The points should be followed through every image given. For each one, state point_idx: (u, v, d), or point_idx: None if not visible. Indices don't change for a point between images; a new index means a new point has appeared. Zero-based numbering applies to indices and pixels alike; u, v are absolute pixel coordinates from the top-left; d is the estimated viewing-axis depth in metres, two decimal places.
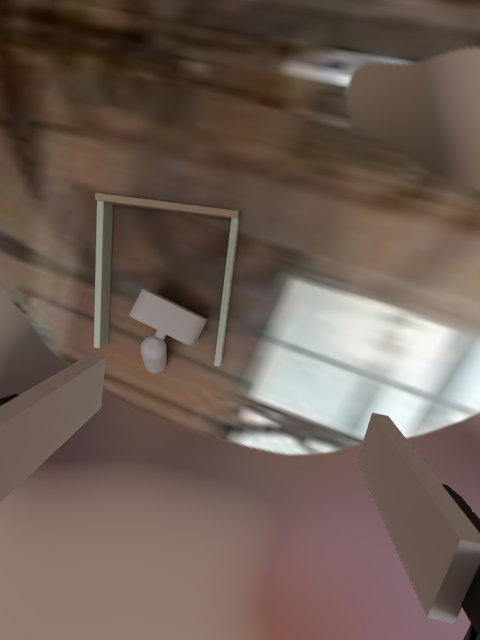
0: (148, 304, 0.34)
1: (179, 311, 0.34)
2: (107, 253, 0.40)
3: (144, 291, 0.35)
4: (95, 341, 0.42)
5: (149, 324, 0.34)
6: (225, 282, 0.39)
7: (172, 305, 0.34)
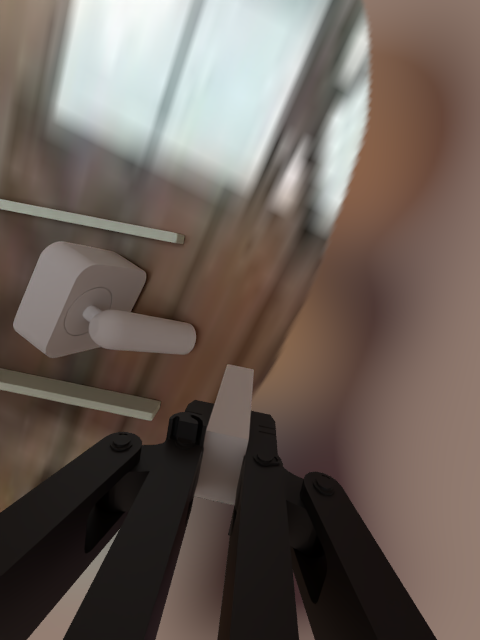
0: (27, 325, 0.22)
1: (36, 276, 0.21)
2: (32, 381, 0.31)
3: (15, 329, 0.23)
4: (142, 417, 0.29)
5: (52, 327, 0.21)
6: (45, 215, 0.26)
7: (28, 287, 0.22)
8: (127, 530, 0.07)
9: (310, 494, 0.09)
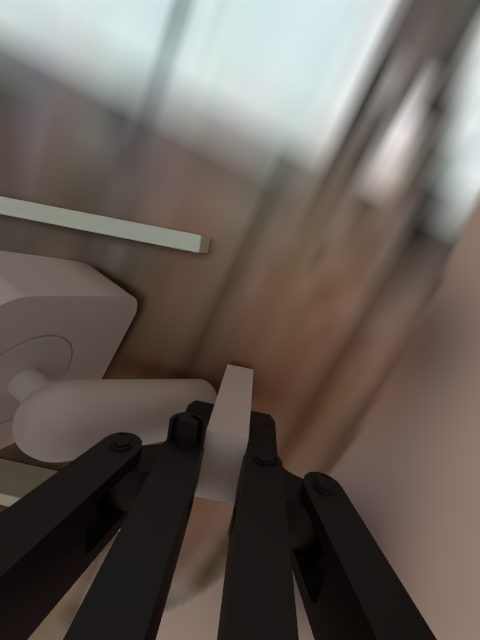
0: None
1: None
2: None
3: None
4: None
5: None
6: None
7: None
8: (127, 530, 0.07)
9: (310, 494, 0.09)
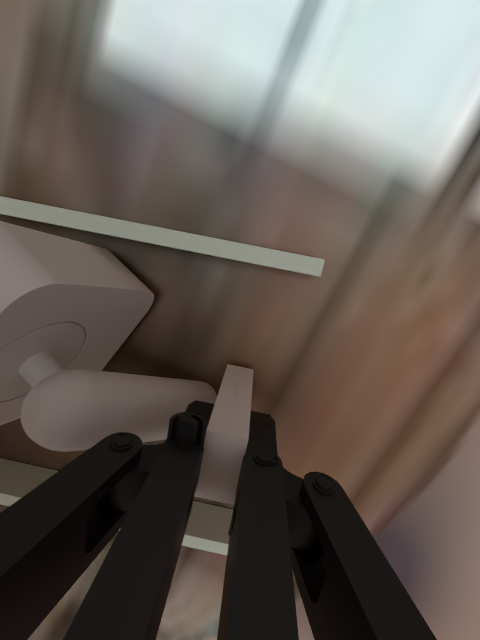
0: None
1: None
2: None
3: None
4: None
5: None
6: (86, 226, 0.14)
7: None
8: (127, 530, 0.07)
9: (310, 494, 0.09)
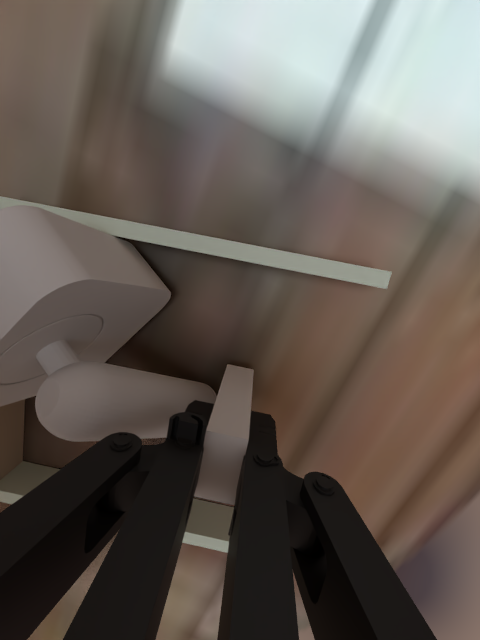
0: None
1: None
2: None
3: None
4: None
5: None
6: (151, 239, 0.15)
7: None
8: (127, 530, 0.07)
9: (310, 494, 0.09)
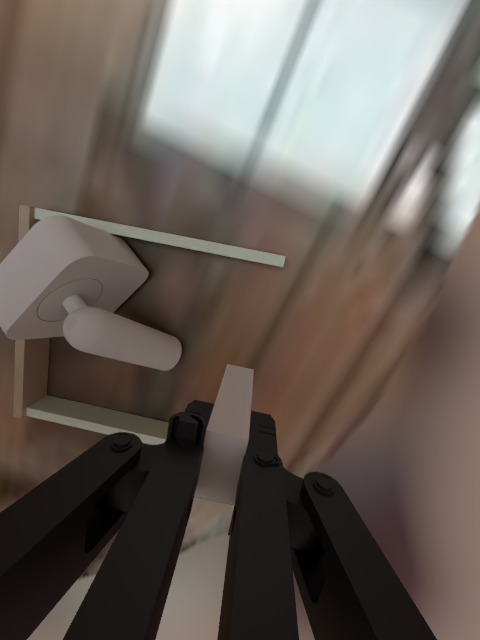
0: None
1: (21, 247, 0.18)
2: (104, 416, 0.28)
3: None
4: None
5: (22, 309, 0.18)
6: (134, 235, 0.23)
7: (9, 256, 0.18)
8: (127, 530, 0.07)
9: (310, 494, 0.09)
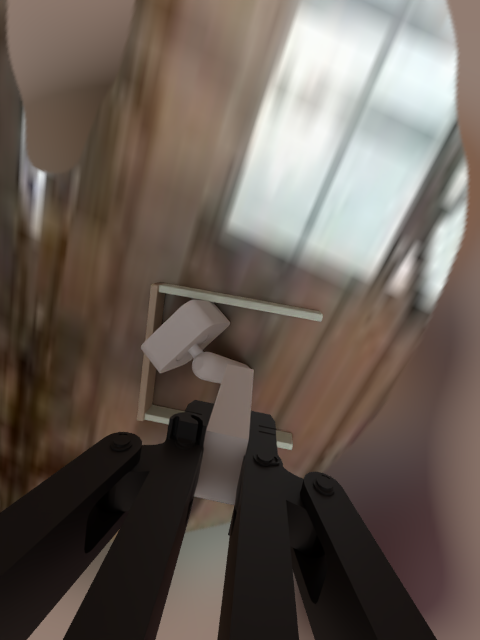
0: (153, 349, 0.31)
1: (172, 320, 0.31)
2: None
3: (141, 347, 0.32)
4: (284, 447, 0.38)
5: (172, 357, 0.31)
6: (224, 302, 0.35)
7: (163, 325, 0.31)
8: (127, 530, 0.07)
9: (310, 494, 0.09)
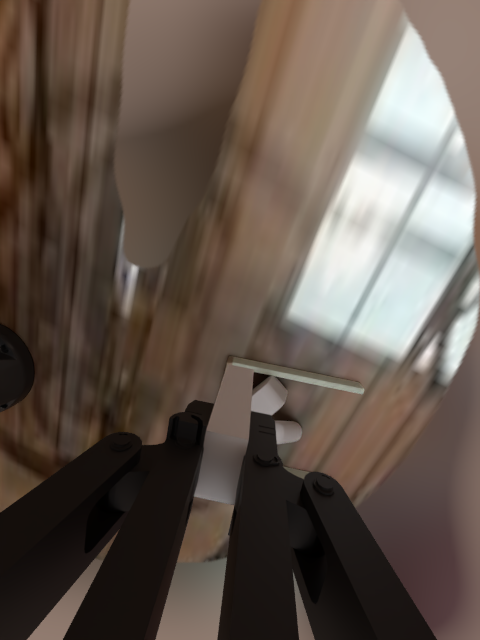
0: None
1: (252, 399, 0.39)
2: None
3: None
4: None
5: None
6: (285, 377, 0.44)
7: None
8: (127, 530, 0.07)
9: (310, 494, 0.09)
